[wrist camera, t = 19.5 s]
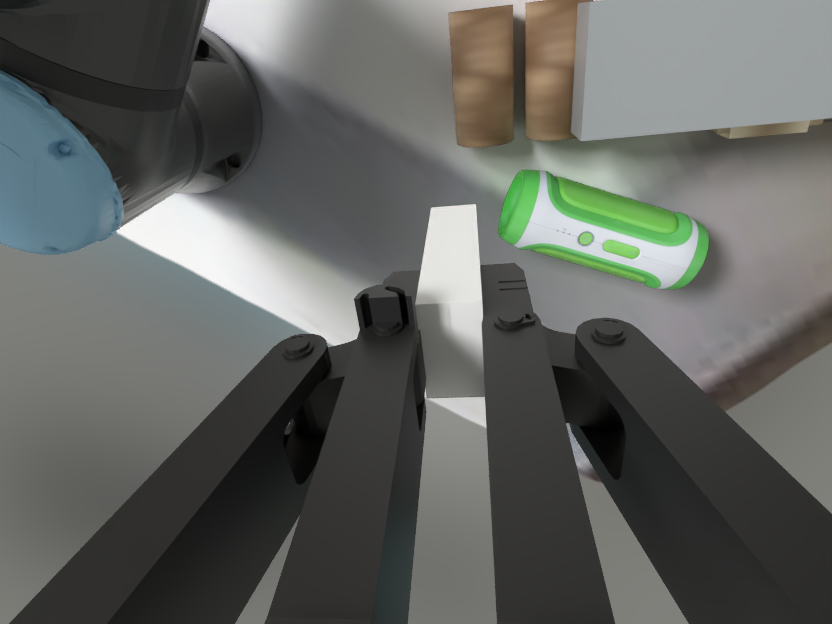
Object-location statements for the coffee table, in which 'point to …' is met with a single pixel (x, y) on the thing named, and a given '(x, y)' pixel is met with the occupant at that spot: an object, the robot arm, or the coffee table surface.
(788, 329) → the coffee table surface
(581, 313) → the coffee table surface
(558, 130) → the roller bed
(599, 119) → the slab
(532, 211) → the speaker
